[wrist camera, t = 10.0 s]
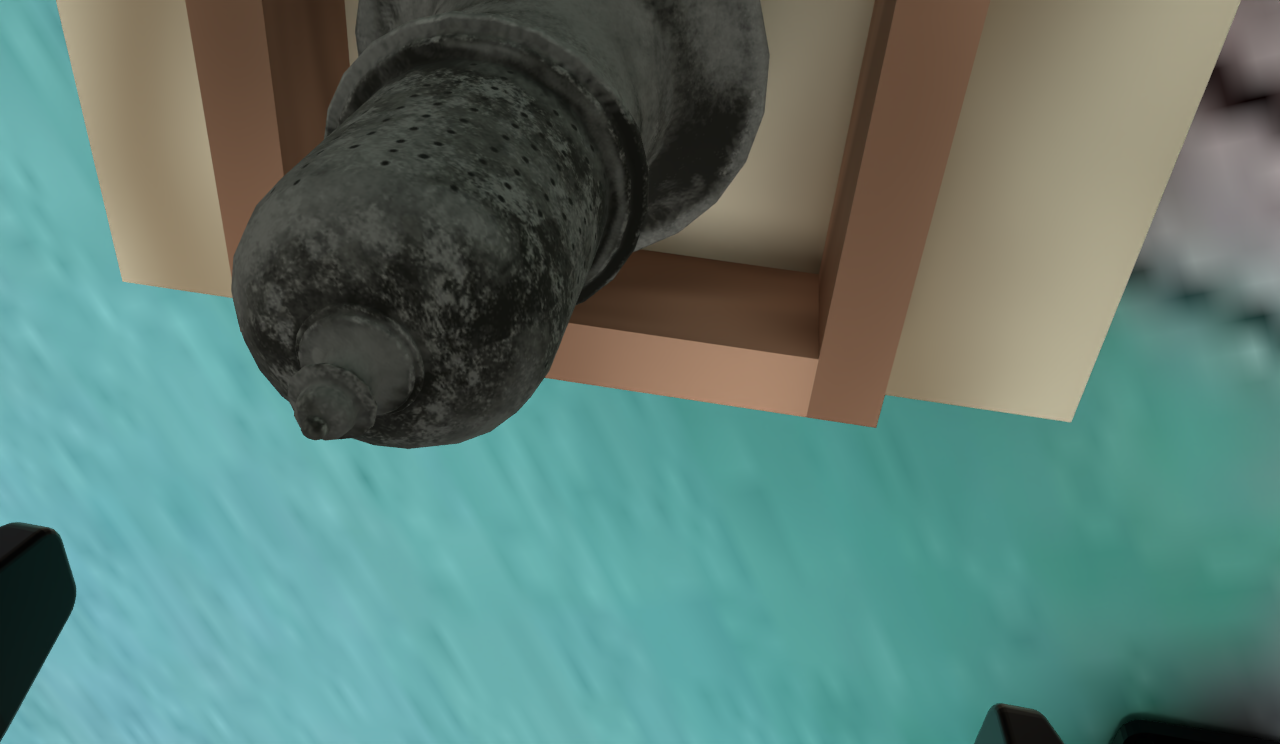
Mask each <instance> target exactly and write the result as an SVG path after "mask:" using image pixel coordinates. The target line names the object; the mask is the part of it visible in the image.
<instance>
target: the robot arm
mask: <svg viewBox="0 0 1280 744" xmlns="http://www.w3.org/2000/svg"><path fill="white" fill-rule="evenodd" d="M75 599H76V585H75V581H74V578H73V575H72V571H71V568H70V565H69V561H68V558H67V555H66V552H65V548H64V545H63V542H62V539H61V537H60V535H59V534H58V533H57V532H56V531H55V530H54V529H51V528H49V527H43V526H38V525H32V524H27V523H20V522H15V523H9V524H6V525H4V526H1V527H0V741H1V740H2V738H3V736H4V735H5V733H6V731H7V730H8V728H9V726H10V724H11V722H12V720H13V719H14V717H15V715H16V713H17V711H18V709H19V708H20V706H21V704H22V702H23V700H24V698H25V697H26V695H27V693H28V691H29V689H30V687H31V686H32V684H33V682H34V680H35V678H36V676H37V675H38V673H39V671H40V669H41V667H42V665H43V664H44V662H45V660H46V658H47V656H48V654H49V653H50V651H51V649H52V647H53V645H54V643H55V642H56V640H57V638H58V636H59V634H60V632H61V631H62V629H63V627H64V625H65V623H66V621H67V620H68V618H69V616H70V614H71V612H72V610H73V607H74V604H75ZM974 744H1064V743H1063V741H1062V740H1061V738H1060V737H1059V735H1058V734H1057V733H1056V731H1055V730H1054V728H1053V727H1052V726H1051V724H1050V723H1049V721H1048V720H1047V719H1046V717H1045V716H1044V715H1042V714H1041V713H1040V712H1038V711H1037V710H1034V709H1030V708H1024V707H1019V706H1013V705H1008V704H1003V703H999V704H995V705H993V706H992V707H991V708H990V710H989V711H988V713H987V715H986V718H985V720H984V722H983V724H982V727H981V729H980V731H979V734H978V736H977V738H976V741H975V743H974ZM1112 744H1280V742H1274V741H1268V740H1262V739H1256V738H1250V737H1244V736H1238V735H1232V734H1227V733H1221V732H1215V731H1209V730H1203V729H1197V728H1191V727H1185V726H1179V725H1173V724H1167V723H1161V722H1156V721H1150V720H1134V721H1130V722H1128V723H1126V724H1124V725H1123V726H1122V727H1121V728H1120V729H1119V731H1118V733H1117V735H1116V737H1115V738H1114V740H1113V742H1112Z"/></svg>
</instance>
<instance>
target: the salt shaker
mask: <svg viewBox="0 0 1280 744" xmlns="http://www.w3.org/2000/svg"><path fill="white" fill-rule="evenodd" d="M355 35H356V42H357V50H358V58H357V59H356V60H355V61H354V62H353V63H352V65H351V66H350V67H349V68H348V69H347V70H346V71H345V72H344V74H343V76H342V78H341V80H340V82H339V85H338V87H337V89H336V91H335V94H334V96H333V98H332V100H331V103H330V105H329V107H328V110H327V118H326V127H325V135H324V140H323V141H322V142H321V143H320V144H319V145H318V146H316V147H315V148H314V149H313V150H312V151H311V152H310V153H309V154H308V155H307V156H305V157H304V158H303V159H302V160H301V161H300V162H299V163H298V164H297V165H295V166H294V167H293V168H292V169H291V170H290V171H289V172H288V173H287V174H286V175H284V176H283V177H282V178H281V179H280V180H279V181H278V182H277V183H276V185H275V186H274V187H273V188H272V189H271V190H270V191H269V192H268V193H267V194H266V195H265V196H264V197H263V199H262V200H261V201H260V202H259V203H258V204H257V205H256V207H255V209H254V211H253V213H252V215H251V217H250V219H249V221H248V223H247V226H246V228H245V230H244V233H243V235H242V237H241V240H240V242H239V244H238V247H237V249H236V251H235V254H234V256H233V270H232V284H231V292H232V297H233V301H234V306H235V310H236V314H237V319H238V323H239V327H240V329H241V332H242V335H243V338H244V341H245V343H246V345H247V346H248V348H249V350H250V352H251V354H252V356H253V358H254V360H255V362H256V364H257V366H258V368H259V370H260V371H261V372H262V373H263V374H264V376H265V377H266V378H267V379H268V380H269V381H270V383H271V384H272V385H273V386H274V387H275V389H276V390H277V391H278V392H279V393H280V395H281V396H282V397H284V398H285V399H286V400H287V401H289V402H290V404H291V406H292V408H293V410H294V416H295V418H296V420H297V422H298V424H299V426H300V428H301V431H302V433H303V435H304V436H306V437H307V438H309V439H312V440H320V439H323V440H334V439H346V438H353V439H356V440H360V441H363V442H366V443H369V444H372V445H378V446H387V447H397V448H406V449H411V448H420V447H430V446H439V445H448V444H457V443H461V442H463V441H466V440H469V439H472V438H474V437H477V436H480V435H482V434H485V433H488V432H491V431H492V430H493V429H495V428H496V427H497V426H499V425H500V424H501V423H503V422H504V421H505V420H507V419H508V418H510V417H511V416H512V415H514V414H515V413H516V412H517V411H518V410H519V409H520V408H521V407H522V406H523V405H524V404H525V403H526V402H527V400H528V399H529V398H530V397H531V396H532V394H533V393H534V392H535V390H536V389H537V387H538V386H539V385H540V383H541V382H542V380H543V379H544V378H545V376H546V375H547V373H548V372H549V371H550V368H551V366H552V363H553V361H554V358H555V356H556V353H557V351H558V348H559V346H560V343H561V341H562V338H563V335H564V333H565V330H566V328H567V325H568V323H569V320H570V318H571V315H572V313H573V310H574V308H575V305H578V304H580V303H583V302H585V301H586V300H587V299H589V298H590V297H591V296H592V295H594V294H595V293H596V292H598V291H599V290H600V289H601V288H603V287H604V286H605V285H607V284H608V283H609V282H610V281H612V280H613V279H614V278H615V276H616V275H617V273H618V272H619V271H620V269H621V268H622V266H623V265H624V264H625V262H626V261H627V259H628V258H629V257H630V255H631V254H632V252H636V251H638V250H640V249H643V248H645V247H647V246H649V245H652V244H654V243H656V242H659V241H661V240H663V239H666V238H668V237H670V236H673V235H675V234H677V233H679V232H680V231H681V230H683V229H684V228H685V227H687V226H688V225H689V224H690V223H692V222H693V221H694V220H695V219H697V218H698V217H699V216H700V215H702V214H703V213H704V212H705V211H707V210H708V209H709V208H710V207H712V206H713V205H714V204H715V203H717V201H718V200H719V198H720V197H721V196H722V194H723V193H724V192H725V190H726V189H727V187H728V186H729V185H730V183H731V182H732V181H733V179H734V178H735V177H736V175H737V174H738V172H739V171H740V170H741V168H742V167H743V166H744V164H745V163H746V161H747V158H748V155H749V153H750V150H751V147H752V145H753V142H754V139H755V137H756V134H757V131H758V129H759V126H760V123H761V121H762V118H763V115H764V112H765V102H766V91H767V81H768V70H769V59H770V54H769V48H768V42H767V36H766V31H765V25H764V19H763V13H762V7H761V2H760V0H359V2H358V10H357V19H356V27H355Z"/></svg>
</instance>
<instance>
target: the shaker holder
mask: <svg viewBox="0 0 1280 744" xmlns="http://www.w3.org/2000/svg"><path fill="white" fill-rule="evenodd" d="M56 2H57V7H58V11H59V15H60V19H61V23H62V28H63V32H64V36H65V40H66V45H67V49H68V53H69V57H70V61H71V66H72V70H73V74H74V78H75V82H76V87H77V91H78V95H79V99H80V104H81V108H82V112H83V116H84V120H85V125H86V129H87V133H88V137H89V141H90V146H91V150H92V154H93V158H94V163H95V167H96V171H97V175H98V179H99V184H100V188H101V192H102V196H103V200H104V205H105V209H106V213H107V217H108V222H109V226H110V230H111V234H112V238H113V243H114V247H115V251H116V255H117V259H118V264H119V268H120V272H121V276H122V281H123V282H129V283H136V284H143V285H150V286H156V287H163V288H170V289H176V290H183V291H190V292H197V293H203V294H210V295H217V296H224V297H230V298H233V297H232V292H231V284H232V270H233V256H234V254H235V251H236V249H237V247H238V244H239V242H240V240H241V237H242V235H243V233H244V230H245V228H246V226H247V223H248V221H249V219H250V217H251V215H252V213H253V211H254V209H255V207H256V205H257V204H258V203H259V202H260V201H261V200H262V199H263V197H264V196H265V195H266V194H267V193H268V192H269V191H270V190H271V189H272V188H273V187H274V186H275V185H276V183H277V182H278V181H279V180H280V179H281V178H282V177H283V176H284V175H286V174H287V173H288V172H289V171H290V170H291V169H292V168H293V167H294V166H295V165H297V164H298V163H299V162H300V161H301V160H302V159H303V158H304V157H305V156H307V155H308V154H309V153H310V152H311V151H312V150H313V149H314V148H315V147H316V146H318V145H319V144H320V143H321V142H322V141H323V140H324V135H325V127H326V118H327V110H328V107H329V105H330V103H331V100H332V98H333V96H334V94H335V91H336V89H337V87H338V85H339V82H340V80H341V78H342V76H343V74H344V72H345V71H346V70H347V69H348V68H349V67H350V66H351V65H352V63H353V62H354V61H355V60H356V59H357V58H358V50H357V42H356V35H355V27H356V19H357V10H358V2H359V0H56ZM760 2H761V7H762V13H763V19H764V25H765V31H766V36H767V42H768V48H769V54H770V59H769V70H768V81H767V91H766V102H765V112H764V115H763V118H762V121H761V123H760V126H759V129H758V131H757V134H756V137H755V139H754V142H753V145H752V147H751V150H750V153H749V155H748V158H747V161H746V163H745V164H744V166H743V167H742V168H741V170H740V171H739V172H738V174H737V175H736V177H735V178H734V179H733V181H732V182H731V183H730V185H729V186H728V187H727V189H726V190H725V192H724V193H723V194H722V196H721V197H720V198H719V200H718V201H717V203H715V204H714V205H713V206H712V207H710V208H709V209H708V210H707V211H705V212H704V213H703V214H702V215H700V216H699V217H698V218H697V219H695V220H694V221H693V222H692V223H690V224H689V225H688V226H687V227H685V228H684V229H683V230H681V231H680V232H679V233H677V234H675V235H673V236H670V237H668V238H666V239H663V240H661V241H659V242H656V243H654V244H652V245H649V246H647V247H645V248H643V249H640V250H638V251H636V252H632V254H631V255H630V257H629V258H628V259H627V261H626V262H625V264H624V265H623V266H622V268H621V269H620V271H619V272H618V273H617V275H616V276H615V278H614V279H613V280H612V281H610V282H609V283H608V284H607V285H605V286H604V287H603V288H601V289H600V290H599V291H598V292H596V293H595V294H594V295H592V296H591V297H590V298H589V299H587V300H586V301H585V302H583V303H580V304H578V305H575V308H574V310H573V313H572V315H571V318H570V320H569V323H568V325H567V328H566V330H565V333H564V335H563V338H562V341H561V343H560V346H559V348H558V351H557V353H556V356H555V358H554V361H553V363H552V366H551V368H550V371H549V372H548V373H547V375H546V376H545V378H550V379H557V380H563V381H570V382H577V383H583V384H590V385H596V386H603V387H610V388H616V389H623V390H629V391H636V392H643V393H649V394H656V395H663V396H669V397H676V398H682V399H689V400H696V401H702V402H709V403H716V404H722V405H729V406H735V407H742V408H749V409H755V410H762V411H769V412H775V413H782V414H788V415H795V416H802V417H808V418H815V419H822V420H828V421H835V422H841V423H848V424H855V425H861V426H868V427H875V428H876V426H877V422H878V419H879V415H880V411H881V407H882V404H883V400H884V396H885V395H890V396H897V397H904V398H911V399H917V400H924V401H931V402H937V403H944V404H951V405H958V406H964V407H971V408H978V409H985V410H991V411H998V412H1005V413H1012V414H1018V415H1025V416H1032V417H1038V418H1045V419H1052V420H1059V421H1065V422H1071V421H1072V419H1073V416H1074V414H1075V411H1076V409H1077V406H1078V404H1079V401H1080V399H1081V396H1082V394H1083V391H1084V389H1085V387H1086V384H1087V382H1088V379H1089V377H1090V374H1091V372H1092V369H1093V367H1094V364H1095V362H1096V359H1097V357H1098V354H1099V352H1100V349H1101V347H1102V344H1103V342H1104V339H1105V337H1106V334H1107V332H1108V329H1109V327H1110V324H1111V322H1112V319H1113V317H1114V315H1115V312H1116V310H1117V307H1118V305H1119V302H1120V300H1121V297H1122V295H1123V292H1124V290H1125V287H1126V285H1127V282H1128V280H1129V277H1130V275H1131V272H1132V270H1133V267H1134V265H1135V262H1136V260H1137V257H1138V255H1139V252H1140V250H1141V247H1142V245H1143V243H1144V240H1145V238H1146V235H1147V233H1148V230H1149V228H1150V225H1151V223H1152V220H1153V218H1154V215H1155V213H1156V210H1157V208H1158V205H1159V203H1160V200H1161V198H1162V195H1163V193H1164V190H1165V188H1166V185H1167V183H1168V180H1169V178H1170V175H1171V173H1172V171H1173V168H1174V166H1175V163H1176V161H1177V158H1178V156H1179V153H1180V151H1181V148H1182V146H1183V143H1184V141H1185V138H1186V136H1187V133H1188V131H1189V128H1190V126H1191V123H1192V121H1193V118H1194V116H1195V113H1196V111H1197V108H1198V106H1199V103H1200V101H1201V99H1202V96H1203V94H1204V91H1205V89H1206V86H1207V84H1208V81H1209V79H1210V76H1211V74H1212V71H1213V69H1214V66H1215V64H1216V61H1217V59H1218V56H1219V54H1220V51H1221V49H1222V46H1223V44H1224V41H1225V39H1226V36H1227V34H1228V31H1229V29H1230V27H1231V24H1232V22H1233V19H1234V17H1235V14H1236V12H1237V9H1238V7H1239V4H1240V2H1241V0H760ZM240 331H241V329H240Z"/></svg>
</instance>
